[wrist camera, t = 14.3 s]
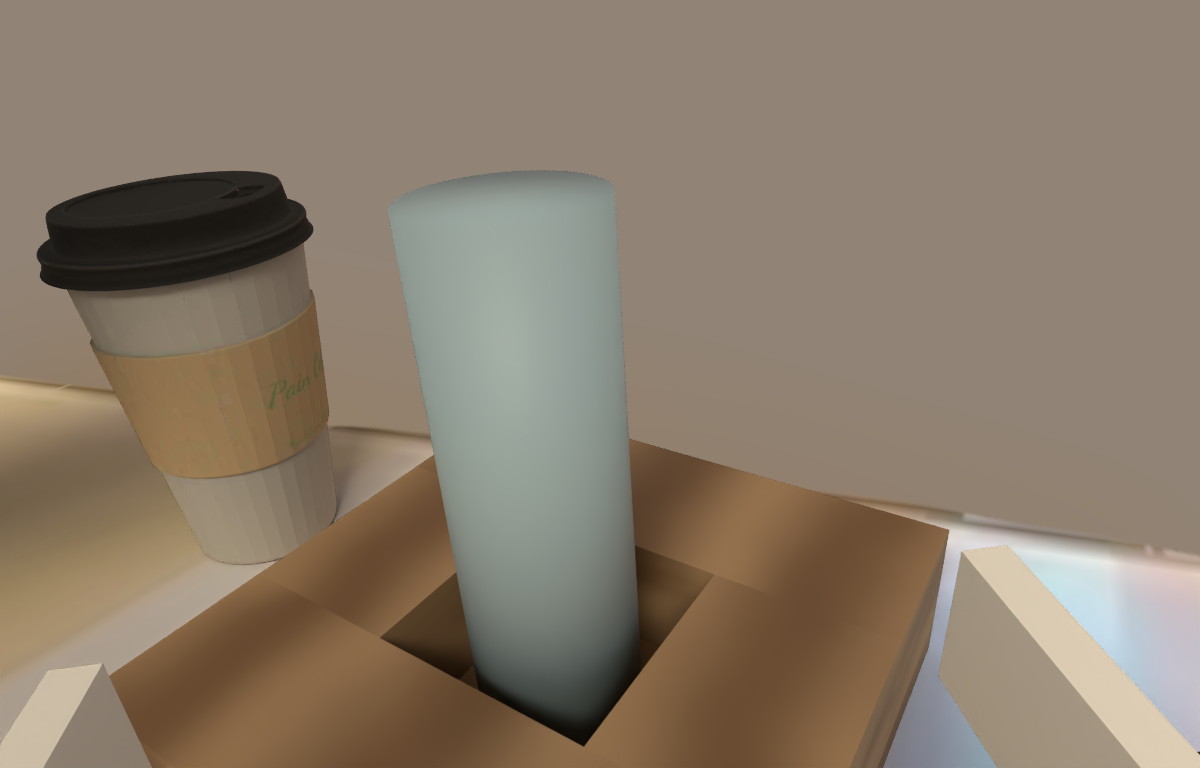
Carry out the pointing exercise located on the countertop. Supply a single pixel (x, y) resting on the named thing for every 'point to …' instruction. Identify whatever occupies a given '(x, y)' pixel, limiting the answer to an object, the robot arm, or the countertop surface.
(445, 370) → the peg
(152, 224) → the coffee cup
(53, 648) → the countertop surface
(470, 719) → the socket block
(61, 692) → the robot arm
